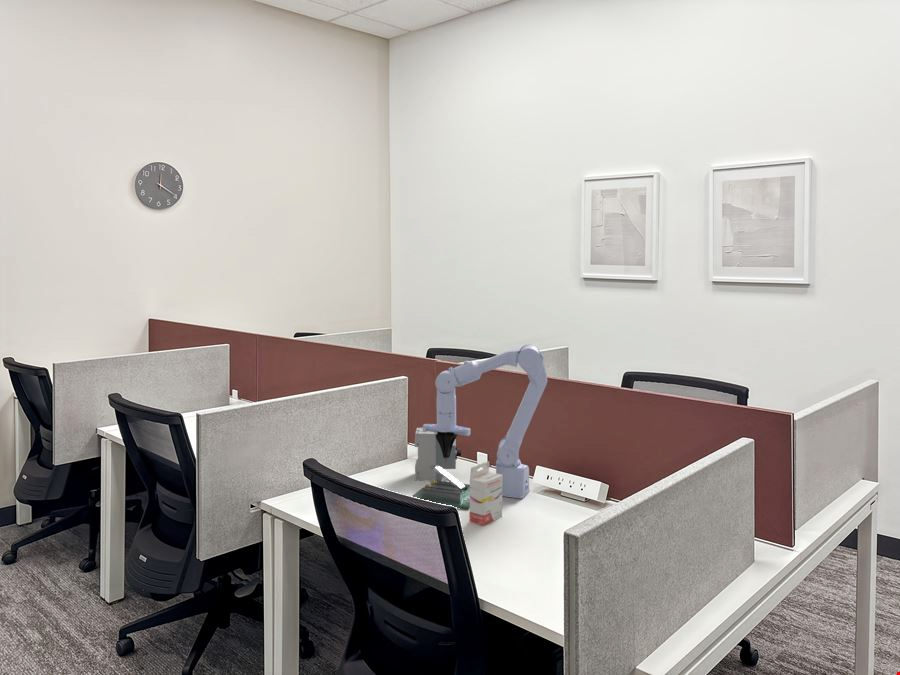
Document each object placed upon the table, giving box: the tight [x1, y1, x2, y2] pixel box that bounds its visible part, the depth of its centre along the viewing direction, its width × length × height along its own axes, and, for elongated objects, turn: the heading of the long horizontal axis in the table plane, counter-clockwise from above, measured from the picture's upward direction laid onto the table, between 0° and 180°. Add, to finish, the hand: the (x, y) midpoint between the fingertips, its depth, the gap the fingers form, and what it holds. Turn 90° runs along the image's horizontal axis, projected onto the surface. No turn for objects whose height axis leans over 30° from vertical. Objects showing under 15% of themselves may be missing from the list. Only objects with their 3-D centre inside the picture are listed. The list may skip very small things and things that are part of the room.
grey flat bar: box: [434, 465, 466, 490], centre depth 201 cm, size 10×3×1 cm
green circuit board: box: [411, 480, 470, 511], centre depth 202 cm, size 18×13×4 cm
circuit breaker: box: [414, 427, 462, 482], centre depth 221 cm, size 8×14×15 cm, turn 89°
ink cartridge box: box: [469, 461, 503, 527], centre depth 185 cm, size 9×5×15 cm, turn 141°
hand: (446, 457), depth 207 cm, fingers closed
